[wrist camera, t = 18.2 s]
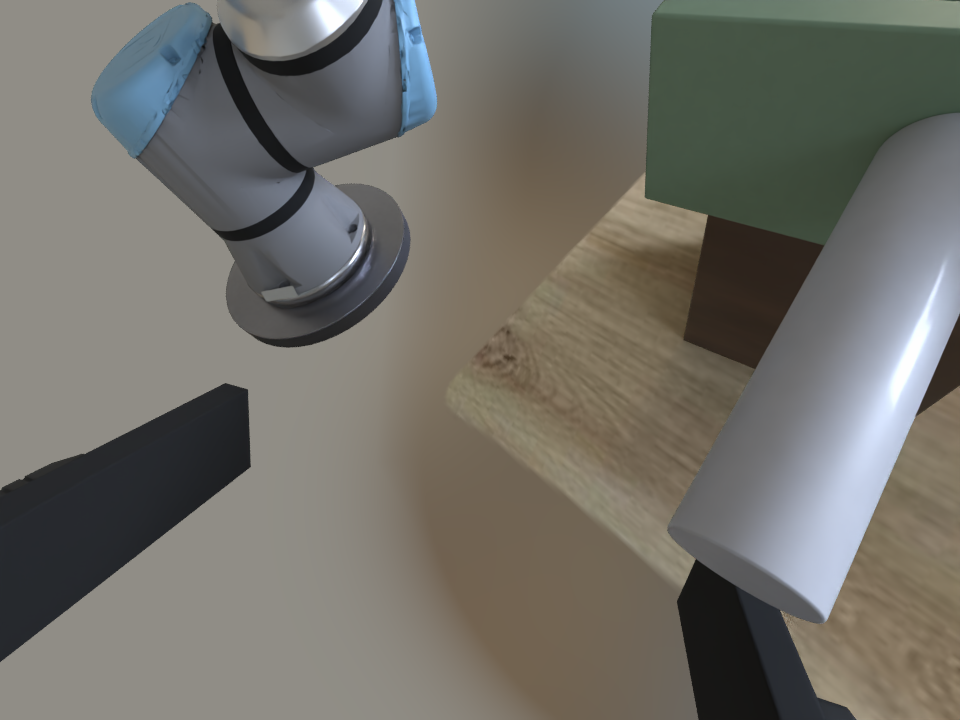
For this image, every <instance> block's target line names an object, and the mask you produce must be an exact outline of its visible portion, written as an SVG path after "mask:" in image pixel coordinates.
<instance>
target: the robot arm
mask: <svg viewBox="0 0 960 720" xmlns="http://www.w3.org/2000/svg"><path fill="white" fill-rule="evenodd" d="M217 11H218V17H219V20H220V23H219V24H214V23H213V22H212V17H211V16H210V14H209V13H207V12H206V11H204V10H203V9H202V8H201V7H200V6H199V5H197V4H195V3H191V2H189V3H186V4H185V5H179V6H176V7H174V8H172V9H170V10H168V11H167V12H166V13H164V14H162V15H161V16H160V17H158V18H157V19H155V20H154V21H153V22H151V23H150V24H149V25H148V26H146V27H145V28H144V29H143V30H142V31H140V32H139V33H138V34H137V35H136V36H135V37H134V38H132V39H131V40H130V41H129V42H128V43H127V44H126V45H125V46H124V47H123V48H122V49H121V50H120V51H119V53H118V54H117V55H116V56H115V57H114V58H113V59H112V60H111V62H110V63H109V64H108V65H107V66H106V68H105V69H104V70H103V72H102V73H101V75H100V76H99V78H98V80H97V81H96V83H95V85H94V88H93V91H92V95H91V103H92V108H93V110H94V113H95V115H96V117H97V118H98V119H99V121H100V122H101V123H102V124H103V125H104V126H105V127H106V128H107V129H108V130H109V131H110V133H111V134H112V135H113V136H114V137H115V138H116V139H117V140H118V141H119V142H120V143H121V144H122V145H123V146H124V148H125V149H126V150H127V151H128V154H129V155H130V156H131V157H132V158H136V159H137V160H138V161H139V162H140V163H141V164H142V165H143V166H144V167H146V168H147V169H148V170H149V171H150V172H151V173H152V174H153V175H154V176H155V177H157V178H158V179H159V180H160V181H161V182H162V183H163V184H164V185H165V186H166V187H167V188H168V189H170V190H171V191H172V192H173V193H174V194H175V195H176V196H177V197H178V198H179V199H180V200H181V201H182V202H183V203H185V204H186V205H187V206H188V207H189V208H190V209H191V210H192V211H193V212H194V213H196V215H197V216H198V217H199V218H201V219H202V220H203V221H204V222H205V223H206V224H207V225H208V226H209V227H211V229H213V230H214V231H215V232H216V233H217V234H218V235H219V236H220V237H221V238H222V239H223V240H224V241H225V243H226V245H227V247H228V249H229V251H230V252H231V254H232V256H233V258H234V260H235V262H236V264H237V266H238V267H239V269H240V271H241V273H242V275H243V277H244V279H245V280H246V282H247V284H248V286H249V287H250V288H251V289H252V290H253V291H254V292H255V293H256V294H257V295H258V296H259V297H261V298H262V299H263V300H264V301H265V302H267V303H269V304H271V305H273V306H277V307H283V308H293V307H300V306H304V305H308V304H311V303H314V302H316V301H318V300H321V299H323V298H324V297H326V296H328V295H330V294H331V293H333V292H334V291H336V290H337V289H339V288H340V287H341V286H342V285H344V284H345V283H346V282H347V281H348V280H349V279H350V278H351V277H352V276H353V275H354V274H355V272H356V271H357V270H358V269H359V267H360V266H361V264H362V263H363V261H364V260H365V258H366V256H367V254H368V251H369V248H370V245H371V239H372V230H371V225H370V223H369V220H368V219H367V217H366V216H365V214H364V213H363V211H362V209H361V208H360V206H359V205H358V204H357V203H356V202H355V201H353V200H352V199H351V198H349V197H348V196H347V195H346V194H344V193H343V192H342V191H340V190H339V189H338V188H336V187H335V186H334V185H332V184H331V183H330V182H329V181H327V180H326V179H325V178H323V177H322V176H321V175H319V174H318V173H317V172H316V171H315V170H314V168H313V167H316V166H318V165H321V164H324V163H327V162H329V161H332V160H335V159H338V158H340V157H343V156H346V155H348V154H351V153H354V152H357V151H360V150H362V149H365V148H368V147H371V146H373V145H376V144H379V143H382V142H384V141H387V140H390V139H393V138H395V137H401V136H402V135H403V134H404V133H405V132H407V131H408V130H411V129H413V128H415V127H417V126H419V125H421V124H424V123H426V122H427V121H429V120H430V119H431V118H432V117H433V115H434V113H435V111H436V108H437V96H436V90H435V85H434V80H433V75H432V71H431V67H430V63H429V59H428V54H427V50H426V46H425V42H424V39H423V36H422V32H421V31H422V30H421V26H420V22H419V18H418V13H417V9H416V5H415V1H414V0H217ZM250 467H251V465H250V438H249V410H248V390H247V389H244V388H240V387H237V386H234V385H230V384H226V383H225V384H223V385H221V386H219V387H217V388H215V389H213V390H211V391H209V392H207V393H205V394H203V395H201V396H199V397H197V398H195V399H193V400H191V401H189V402H187V403H185V404H183V405H181V406H179V407H177V408H176V409H173V410H171V411H169V412H167V413H165V414H164V415H161V416H159V417H158V418H155V419H153V420H151V421H150V422H148V423H146V424H144V425H142V426H140V427H138V428H136V429H134V430H132V431H130V432H128V433H126V434H124V435H122V436H120V437H118V438H116V439H114V440H112V441H110V442H108V443H106V444H104V445H102V446H100V447H98V448H96V449H94V450H92V451H90V452H88V453H86V454H80V455H77V456H74V457H70V458H67V459H64V460H61V461H57V462H54V463H51V464H49V465H47V466H45V467H43V468H41V469H39V470H37V471H35V472H33V473H31V474H29V475H27V476H25V478H24V479H23V480H20V479H19V480H16V481H14V482H13V483H10V484H9V485H6V486H4V487H2V490H0V662H1V661H2V660H3V659H5V658H6V657H7V656H9V655H10V654H11V653H12V652H14V651H15V650H16V649H18V648H19V647H20V646H21V645H23V644H24V643H25V642H26V641H28V640H29V639H30V638H32V637H33V636H34V635H35V634H37V633H38V632H39V631H40V630H42V629H43V628H44V627H46V626H47V625H48V624H50V623H51V622H52V621H53V620H55V619H56V618H57V617H59V616H60V615H61V614H62V613H63V612H65V611H66V610H68V609H69V608H70V607H71V606H73V605H74V604H75V603H76V602H78V601H79V600H80V599H82V598H83V597H84V596H86V595H87V594H88V593H89V592H91V591H92V590H93V589H94V588H96V587H97V586H98V585H100V584H101V583H102V582H104V581H105V580H106V579H107V578H108V577H110V576H111V575H112V574H114V573H115V572H116V571H118V570H119V569H120V568H121V567H123V566H124V565H125V564H127V563H128V562H129V561H130V560H132V559H133V558H134V557H136V556H137V555H138V554H139V553H141V552H142V551H143V550H145V549H146V548H147V547H148V546H150V545H151V544H152V543H154V542H155V541H156V540H157V539H159V538H160V537H161V536H163V535H164V534H165V533H166V532H168V531H169V530H170V529H172V528H173V527H174V526H175V525H177V524H178V523H179V522H181V521H182V520H183V519H184V518H186V517H187V516H188V515H189V514H190V513H192V512H193V511H195V510H196V509H197V508H198V507H200V506H201V505H202V504H203V503H205V502H206V501H207V500H209V499H210V498H211V497H212V496H214V495H215V494H216V493H217V492H219V491H220V490H221V489H223V488H224V487H225V486H227V485H228V484H229V483H230V482H232V481H233V480H234V479H235V478H237V477H238V476H239V475H241V474H242V473H243V472H245V471H246V470H247V469H249V468H250ZM677 604H678V610H679V615H680V621H681V626H682V631H683V637H684V642H685V647H686V653H687V658H688V664H689V669H690V675H691V681H692V686H693V691H694V696H695V702H696V707H697V713H698V718H699V720H856V718H855V717H854V716H853V715H852V713H851V712H850V711H849V710H848V708H847V707H844V706H841V705H838V704H835V703H832V702H829V701H826V700H823V699H820V698H817V696H816V694H815V692H814V689H813V687H812V685H811V682H810V680H809V678H808V675H807V673H806V671H805V668H804V666H803V664H802V661H801V659H800V657H799V654H798V652H797V650H796V647H795V645H794V643H793V640H792V638H791V635H790V633H789V631H788V628H787V626H786V624H785V621H784V619H783V617H782V614H781V612H780V610H779V609H777V608H775V607H773V606H771V605H769V604H767V603H766V602H764V601H762V600H760V599H758V598H756V597H755V596H753V595H751V594H749V593H748V592H746V591H744V590H742V589H741V588H739V587H737V586H736V585H734V584H732V583H731V582H729V581H728V580H726V579H724V578H723V577H721V576H720V575H718V574H717V573H715V572H714V571H712V570H711V569H709V568H708V567H707V566H705V565H704V564H702V563H701V562H700V561H698V560H697V559H696V560H695V563H694V565H693V567H692V569H691V572H690V574H689V576H688V578H687V580H686V583H685V585H684V587H683V589H682V592H681V594H680V596H679V598H678V600H677Z"/></svg>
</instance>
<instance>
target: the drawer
mask: <svg viewBox="0 0 960 720" xmlns="http://www.w3.org/2000/svg"><path fill="white" fill-rule="evenodd" d="M645 198H647V199H650V200H654V201H658V202H662V203H665V204H669V205H673V206H677V207H681V208H684V209H688V210H692V211H696V212H700V213H703V214H707V215H711V216H715V217H718V218H722V219H726V220H730V221H734V222H737V223H741V224H745V225H749V226H753V227H756V228H760V229H764V230H768V231H771V232H775V233H779V234H783V235H787V236H790V237H794V238H798V239H802V240H806V241H809V242H813V243H817V244H821V245H824V247H823V249H822V251H821V253H820V255H819V256H818V258H817V260H816V262H815V263H814V265H813V267H812V269H811V271H810V272H809V274H808V276H807V278H806V280H805V281H804V283H803V285H802V287H801V288H800V290H799V292H798V294H797V296H796V297H795V299H794V301H793V303H792V305H791V306H790V308H789V310H788V312H787V314H786V315H785V317H784V319H783V321H782V322H781V324H780V326H779V328H778V330H777V331H776V333H775V335H774V337H773V339H772V340H771V342H770V344H769V346H768V347H767V349H766V351H765V353H764V355H763V356H762V358H761V360H760V362H759V364H758V365H757V367H756V369H755V371H754V372H753V374H752V376H751V378H750V380H749V381H748V383H747V385H746V387H745V389H744V390H743V392H742V394H741V396H740V398H739V399H738V401H737V403H736V405H735V406H734V408H733V410H732V412H731V414H730V415H729V417H728V419H727V421H726V423H725V424H724V426H723V428H722V430H721V431H720V433H719V435H718V437H717V439H716V440H715V442H714V444H713V446H712V448H711V449H710V451H709V453H708V455H707V456H706V458H705V460H704V462H703V464H702V465H701V467H700V469H699V471H698V473H697V474H696V476H695V478H694V480H693V482H692V483H691V485H690V487H689V489H688V490H687V492H686V494H685V496H684V498H683V499H682V501H681V503H680V505H679V507H678V508H677V510H676V512H675V514H674V515H673V517H672V519H671V521H670V523H669V524H668V529H667V531H668V533H669V534H670V536H671V537H672V538H673V539H674V540H675V541H676V542H677V543H678V544H679V545H680V546H681V547H682V548H683V549H684V550H685V551H687V552H688V553H689V554H690V555H692V556H693V557H694V558H696V559H697V560H698V561H700V562H701V563H702V564H704V565H705V566H707V567H708V568H709V569H711V570H712V571H714V572H715V573H717V574H718V575H720V576H721V577H723V578H724V579H726V580H728V581H729V582H731V583H732V584H734V585H736V586H737V587H739V588H741V589H742V590H744V591H746V592H748V593H749V594H751V595H753V596H755V597H756V598H758V599H760V600H762V601H764V602H766V603H767V604H769V605H771V606H773V607H775V608H777V609H779V610H781V611H784V612H786V613H788V614H790V615H792V616H795V617H797V618H800V619H803V620H806V621H809V622H813V623H818V624H822V623H824V622H826V621H827V619H828V617H829V614H830V612H831V610H832V607H833V605H834V603H835V601H836V598H837V596H838V594H839V591H840V589H841V587H842V584H843V582H844V580H845V577H846V575H847V573H848V570H849V568H850V566H851V564H852V561H853V559H854V557H855V554H856V552H857V550H858V547H859V545H860V543H861V540H862V538H863V536H864V533H865V531H866V529H867V527H868V524H869V522H870V520H871V517H872V515H873V513H874V510H875V508H876V506H877V503H878V501H879V499H880V496H881V494H882V492H883V490H884V487H885V485H886V483H887V480H888V478H889V476H890V473H891V471H892V469H893V466H894V464H895V462H896V459H897V457H898V455H899V453H900V450H901V448H902V446H903V443H904V441H905V439H906V436H907V434H908V432H909V429H910V427H911V425H912V423H913V420H914V418H915V416H916V413H917V411H918V409H919V406H920V404H921V402H922V399H923V397H924V395H925V392H926V390H927V388H928V386H929V383H930V381H931V379H932V376H933V374H934V372H935V369H936V367H937V365H938V362H939V360H940V358H941V355H942V353H943V351H944V349H945V346H946V344H947V342H948V339H949V337H950V335H951V332H952V330H953V328H954V325H955V323H956V321H957V318H958V316H959V314H960V0H664V1H663V2H662V3H661V5H660V6H659V7H658V8H657V10H655V12H654V13H653V15H652V27H651V53H650V78H649V104H648V129H647V156H646V180H645Z"/></svg>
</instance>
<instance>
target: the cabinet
mask: <svg viewBox="0 0 960 720" xmlns="http://www.w3.org/2000/svg"><path fill="white" fill-rule="evenodd" d="M823 247H824V245H821V244H817V243H813V242H809V241H806V240H802V239H798V238H794V237H790V236H787V235H783V234H779V233H775V232H771V231H768V230H764V229H760V228H756V227H753V226H749V225H745V224H741V223H737V222H734V221H730V220H726V219H722V218H718V217H715V216H711V215H708V218H707V223H706V228H705V233H704V239H703V244H702V249H701V254H700V259H699V264H698V269H697V274H696V279H695V284H694V289H693V294H692V300H691V305H690V310H689V315H688V320H687V325H686V330H685V335H684V340H685V341H688V342H690V343H693V344H695V345H698V346H700V347H703V348H705V349H708V350H710V351H712V352H715V353H717V354H720V355H722V356H725V357H727V358H730V359H732V360H735V361H737V362H740V363H742V364H744V365H747V366H749V367H752V368H754V369H756V367H757V365H758V364H759V362H760V360H761V358H762V356H763V355H764V353H765V351H766V349H767V347H768V346H769V344H770V342H771V340H772V339H773V337H774V335H775V333H776V331H777V330H778V328H779V326H780V324H781V322H782V321H783V319H784V317H785V315H786V314H787V312H788V310H789V308H790V306H791V305H792V303H793V301H794V299H795V297H796V296H797V294H798V292H799V290H800V288H801V287H802V285H803V283H804V281H805V280H806V278H807V276H808V274H809V272H810V271H811V269H812V267H813V265H814V263H815V262H816V260H817V258H818V256H819V255H820V253H821V251H822V249H823ZM958 386H960V314H959V316H958V318H957V321H956V323H955V325H954V328H953V330H952V332H951V335H950V337H949V339H948V342H947V344H946V346H945V349H944V351H943V353H942V355H941V358H940V360H939V362H938V365H937V367H936V369H935V372H934V374H933V376H932V379H931V381H930V383H929V386H928V388H927V390H926V392H925V395H924V397H923V399H922V402H921V404H920V406H919V409H918V411H917V413H916V416H917V415H919V414H920V413H922V412H923V411H925V410H926V409H927V408H929V407H930V406H932V405H933V404H934V403H936V402H937V401H939V400H940V399H941V398H943V397H944V396H946V395H947V394H948V393H950V392H951V391H953V390H954V389H956V388H957V387H958ZM916 416H915V417H916Z"/></svg>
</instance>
